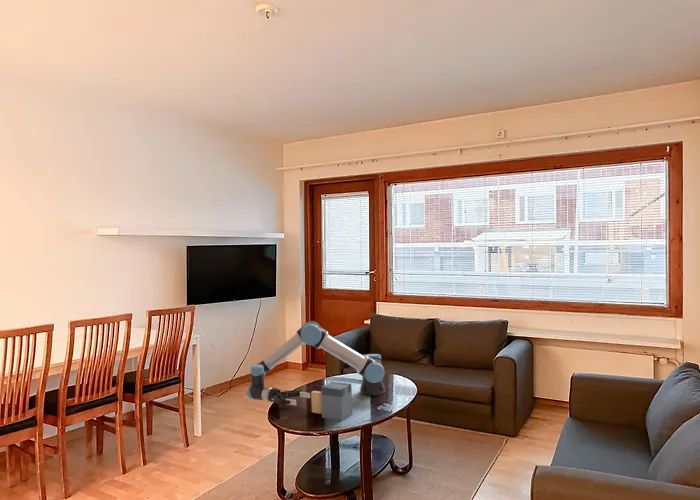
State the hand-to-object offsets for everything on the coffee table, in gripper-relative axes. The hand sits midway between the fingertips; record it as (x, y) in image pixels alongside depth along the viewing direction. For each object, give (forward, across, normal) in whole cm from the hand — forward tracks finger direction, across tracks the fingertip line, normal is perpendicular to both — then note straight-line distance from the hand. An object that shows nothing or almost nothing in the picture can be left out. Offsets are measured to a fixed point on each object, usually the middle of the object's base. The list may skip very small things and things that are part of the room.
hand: (303, 399), depth 272 cm
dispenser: (+21, 0, -6) cm, 22 cm away
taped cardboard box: (+14, 0, -6) cm, 15 cm away
